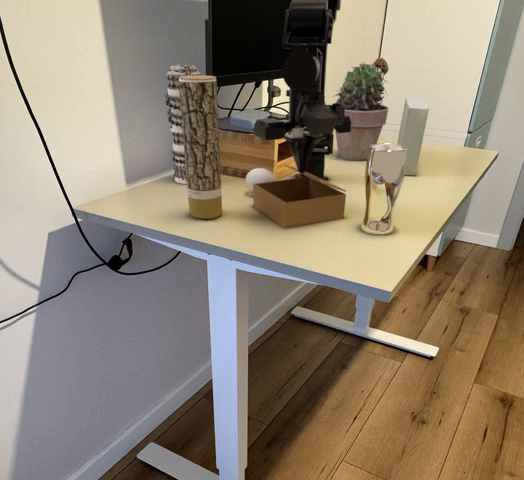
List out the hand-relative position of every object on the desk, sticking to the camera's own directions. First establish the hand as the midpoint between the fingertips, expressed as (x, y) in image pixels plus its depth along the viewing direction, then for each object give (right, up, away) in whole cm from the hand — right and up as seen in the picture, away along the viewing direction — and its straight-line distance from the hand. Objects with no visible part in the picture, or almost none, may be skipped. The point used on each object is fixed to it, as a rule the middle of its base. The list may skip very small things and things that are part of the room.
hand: (301, 172), depth 99 cm
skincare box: (+32, +15, +37) cm, 51 cm away
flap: (+3, 0, +2) cm, 3 cm away
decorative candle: (-26, +7, +25) cm, 37 cm away
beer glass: (+14, -13, -4) cm, 19 cm away
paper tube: (-20, -8, +3) cm, 21 cm away
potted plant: (+19, +21, +46) cm, 54 cm away
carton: (0, -7, +4) cm, 8 cm away
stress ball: (-8, 0, +15) cm, 17 cm away
